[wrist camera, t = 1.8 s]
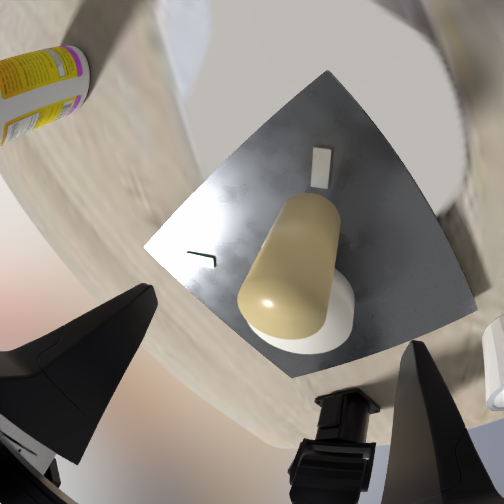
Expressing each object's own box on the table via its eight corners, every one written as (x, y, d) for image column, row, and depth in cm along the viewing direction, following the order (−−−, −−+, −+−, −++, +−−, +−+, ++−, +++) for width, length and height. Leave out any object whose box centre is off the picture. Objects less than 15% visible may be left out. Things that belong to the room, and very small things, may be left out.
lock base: (473, 296, 19) (482, 325, 16) (294, 366, 31) (287, 391, 28) (328, 70, 14) (324, 70, 12) (153, 238, 26) (133, 258, 24)
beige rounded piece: (343, 340, 21) (325, 435, 15) (253, 321, 23) (215, 407, 17) (383, 190, 14) (398, 296, 8) (251, 171, 16) (178, 255, 10)
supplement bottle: (54, 42, 17) (-69, 80, 7) (99, 47, 16) (-50, 88, 7) (47, 106, 21) (-62, 160, 11) (88, 121, 21) (-39, 188, 11)
